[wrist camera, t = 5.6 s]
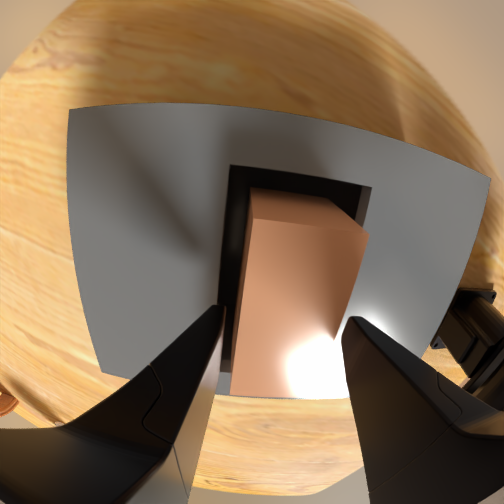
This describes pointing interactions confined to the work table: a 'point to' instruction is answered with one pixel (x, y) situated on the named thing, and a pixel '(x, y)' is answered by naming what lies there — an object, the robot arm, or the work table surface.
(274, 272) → the block
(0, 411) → the arch
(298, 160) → the box
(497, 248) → the work table surface
